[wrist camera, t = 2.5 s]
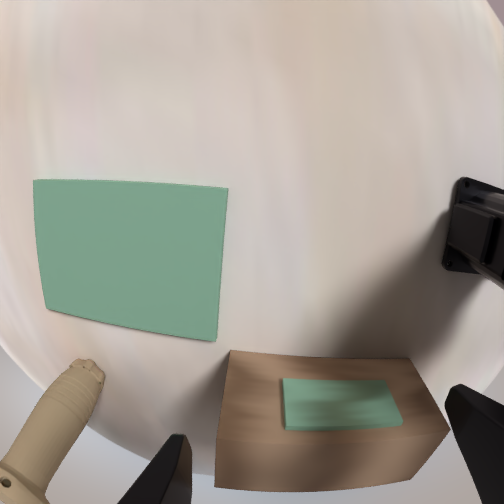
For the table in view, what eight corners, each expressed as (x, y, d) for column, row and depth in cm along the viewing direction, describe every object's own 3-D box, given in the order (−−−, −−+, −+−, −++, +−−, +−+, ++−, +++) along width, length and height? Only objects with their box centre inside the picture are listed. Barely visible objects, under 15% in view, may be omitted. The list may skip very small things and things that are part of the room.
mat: (228, 188, 17) (227, 189, 17) (216, 336, 20) (215, 341, 20) (38, 179, 17) (33, 180, 17) (50, 304, 20) (46, 308, 20)
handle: (119, 402, 23) (57, 536, 9) (60, 370, 23) (-21, 484, 8) (127, 369, 22) (49, 523, 8) (62, 334, 21) (-41, 457, 7)
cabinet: (411, 354, 21) (453, 425, 13) (379, 421, 23) (402, 488, 15) (230, 345, 21) (216, 434, 13) (224, 417, 23) (214, 495, 15)
